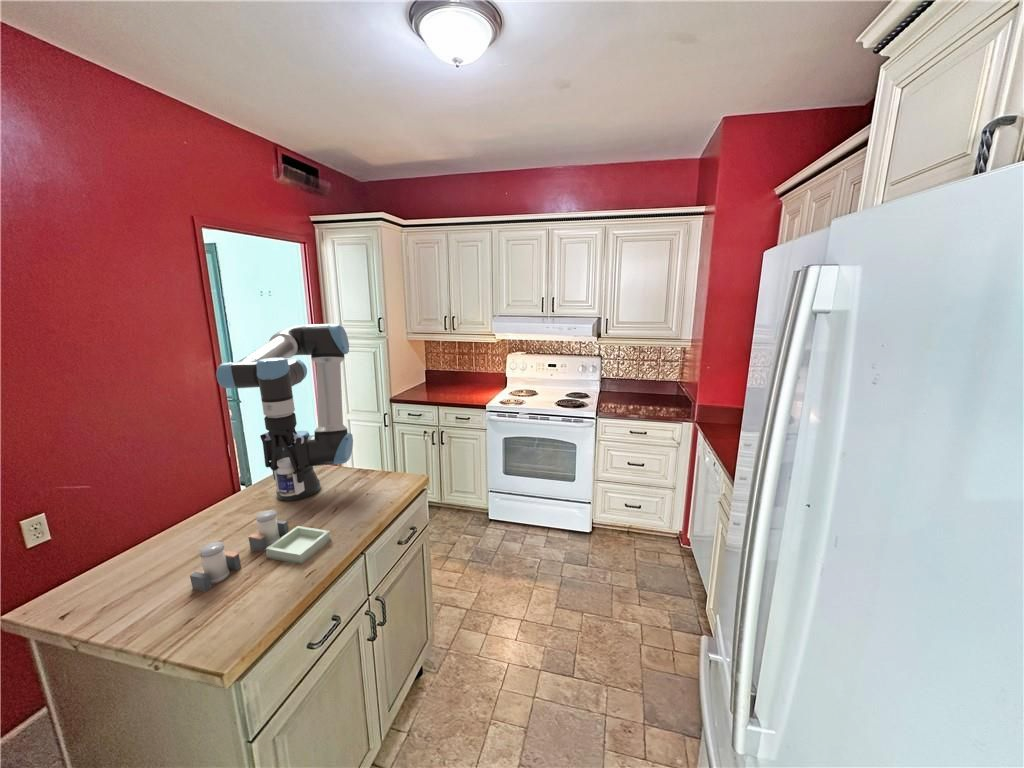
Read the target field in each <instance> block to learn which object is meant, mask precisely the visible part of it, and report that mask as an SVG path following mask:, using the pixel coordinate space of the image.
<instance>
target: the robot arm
mask: <svg viewBox="0 0 1024 768" xmlns="http://www.w3.org/2000/svg"><path fill="white" fill-rule="evenodd" d="M347 334H348V333H347V332H346V329H345V328H344V327H343V326H342V325H341V324H338V323H336V324H335V323H320V324H319V323H315V324H297V325H293V326H291V327H287V328H285V329H283V330H280V331H278V332H277V333H275V334H273V335H272V336H271V337H270V339H269V340H268V342H266V343H265V344H263V345H262V346H260V347H258V348H257V349H255V350H254V351H252V352H251V353H249V354H248V355H246V356H244V357H243V358H242V359H240V360H238V361H234V362H232V361H229V362H223V363H220V364H219V365H218V366H217V368H216V373H215V375H216V380H217V383H218V384H219V386H220V387H222V388H223V389H235V390H236V389H248V388H249V389H250V388H251V389H252V388H259V392H260V399H261V405H262V406H261V407H262V411H263V415H264V419H263V420H264V426H265V430H266V431H268V432H265V433H263V434H260V437H259V438H260V440H261V442H262V450H263V456H264V457H263V458H264V465H265V467H266V468H268V469H269V468H270V470H271V471H272V475H273V479H274V481H275V485H276V486H275V488H276V489H275V492H276V498H277V499H278V500H280V501H286V502H289V501H299V500H302V499H306V498H309V497H311V496H313V495H315V494H316V493H318V492H319V491H320V490H321V489H322V488H321V481H320V479H319V478H318V475H317V474H316V471H315V470H314V467H318V466H332V465H334V466H336V465H343V464H346V463H348V461H349V460H350V459H351V455H352V453H353V446H354V438H353V437H354V436H353V434H352V433H351V432H349V431H348V427H346V425H344V422H343V421H344V418H343V417H344V415H343V398H342V397H343V394H342V389H343V388H342V372H341V371H342V366H341V363H342V362H343V361H344V360H345V355H347V354H349V352H350V343H349V342H350V341H349V338H348V335H347ZM294 356H295V357H296V356H311V360H312V362H314V363H315V366H316V369H315V370H316V371H315V372H316V390H317V391H316V393H317V415H318V416H317V417H318V426H317V427H316V428H315V429H314V435H313V434H312V435H310V432H309V431H308V430H297V431H296V426H297V424H298V423H297V416H296V412H295V410H296V408H295V402H294V401H295V400H294V395H293V386H295V385H298V384H300V383H302V381H303V380H305V379H306V377H307V375H308V368H307V365H306V363H304V362H303V361H302V360H301V359H297V358H293V357H294ZM287 457H289V459H290V461H291V464H292V466H293V469H294V471H295V472H293V473H292V475H293V482H294V489H295V495H292V496H281V495H280V494H279V488H278V480H277V473H276V471H277V469H278V468H279V467H278V466H277V461H278V460H280V459H283V458H287ZM298 467H299V468H298Z"/></svg>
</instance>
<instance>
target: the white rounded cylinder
mask: <svg viewBox="0 0 1024 768" xmlns="http://www.w3.org/2000/svg"><path fill="white" fill-rule="evenodd" d="M225 551H226V550H225V545H224V542H222V541H214V542H211V543H208V544H206V545H204V546H202V547H201V548H200V549H199V550H198V553H199V557H200V561H201V564H202V568H203V573H204V574H209V578H210V583H211V585H216V584H218V583H221V582H222V581H225V580H226V579H227V578H228V577H229V576H230V574H231V573H230V569H228V566H227V561H226V556H225Z"/></svg>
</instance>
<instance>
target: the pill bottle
mask: <svg viewBox="0 0 1024 768" xmlns="http://www.w3.org/2000/svg"><path fill="white" fill-rule="evenodd" d="M277 466H278V467H279V468H278V469H277V471H276V473H277V480H278V488H279V494H280V495H281V496H292V495H295V489H294V482H293V475H292V473H293V472H295V471H294V469H293V466H292V464H291V461H290V459H289V457H287V458H283V459H280V460H278V461H277ZM298 468H299V467H298Z"/></svg>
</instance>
